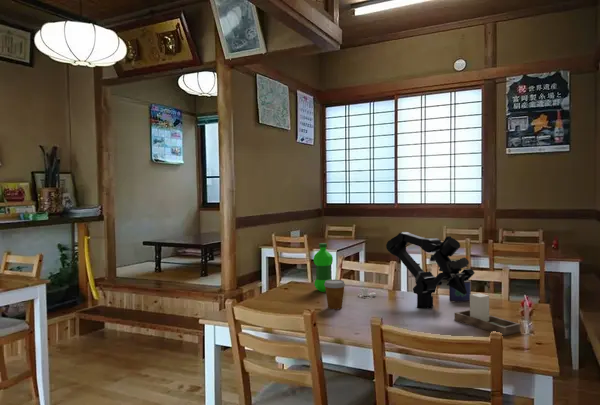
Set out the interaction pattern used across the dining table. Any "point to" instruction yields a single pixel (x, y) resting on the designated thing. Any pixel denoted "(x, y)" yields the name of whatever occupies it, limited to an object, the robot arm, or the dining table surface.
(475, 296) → the cream block
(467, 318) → the walnut box
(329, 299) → the disposable coffee cup
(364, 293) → the teacup and saucer
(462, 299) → the flask
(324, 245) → the plastic bottle
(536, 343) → the dining table surface
